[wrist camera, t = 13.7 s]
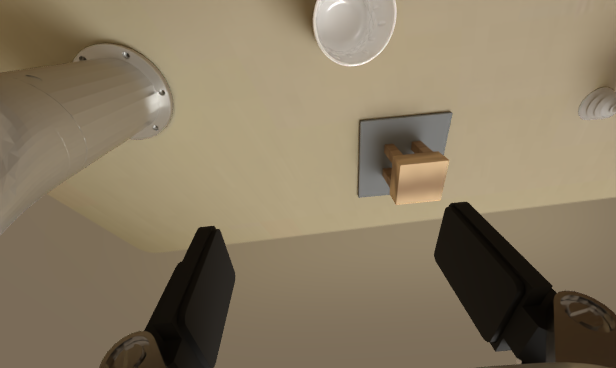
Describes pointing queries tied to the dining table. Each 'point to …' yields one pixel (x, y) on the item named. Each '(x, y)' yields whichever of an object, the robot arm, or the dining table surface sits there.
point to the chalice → (598, 104)
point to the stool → (415, 174)
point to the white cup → (353, 29)
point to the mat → (401, 135)
